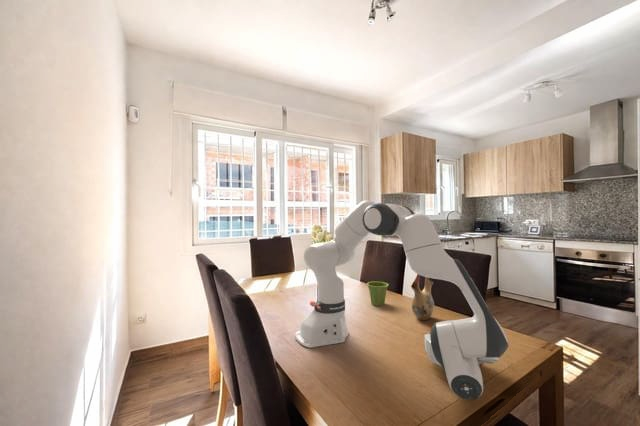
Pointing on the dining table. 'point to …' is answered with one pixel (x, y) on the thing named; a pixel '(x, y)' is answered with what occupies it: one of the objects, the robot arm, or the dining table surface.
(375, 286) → the plant pot
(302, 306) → the dining table surface
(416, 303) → the ceramic vessel
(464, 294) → the robot arm
